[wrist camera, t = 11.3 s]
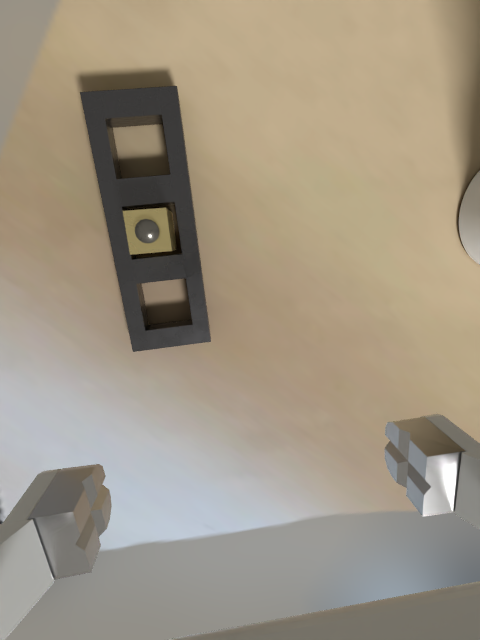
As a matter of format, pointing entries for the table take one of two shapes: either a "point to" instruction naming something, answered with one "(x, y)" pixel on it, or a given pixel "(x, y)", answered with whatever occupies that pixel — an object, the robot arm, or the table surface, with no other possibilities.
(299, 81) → the table surface
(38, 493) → the robot arm
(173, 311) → the table surface
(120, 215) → the grey flat slotted block
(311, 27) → the table surface
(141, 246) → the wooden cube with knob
